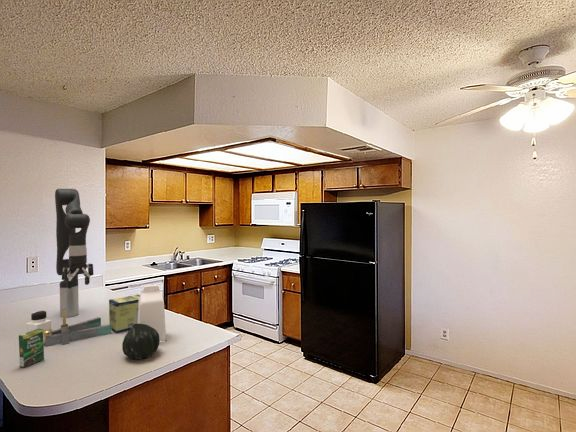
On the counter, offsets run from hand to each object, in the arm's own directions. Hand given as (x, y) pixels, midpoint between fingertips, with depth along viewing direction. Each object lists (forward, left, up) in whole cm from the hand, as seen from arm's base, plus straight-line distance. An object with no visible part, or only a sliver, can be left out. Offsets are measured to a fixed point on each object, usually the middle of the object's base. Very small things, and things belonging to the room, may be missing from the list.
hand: (78, 286), depth 167 cm
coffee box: (+25, -18, -24) cm, 40 cm away
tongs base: (+5, -1, -24) cm, 25 cm away
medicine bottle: (-10, -16, -25) cm, 31 cm away
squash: (+43, +20, -25) cm, 54 cm away
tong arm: (-3, -1, -24) cm, 24 cm away
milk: (+27, +28, -25) cm, 46 cm away
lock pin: (+1, -6, -20) cm, 21 cm away
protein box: (+3, +22, -25) cm, 33 cm away
